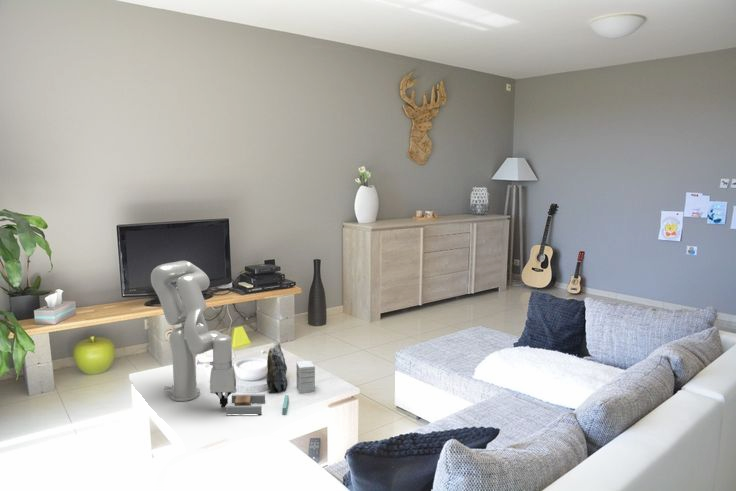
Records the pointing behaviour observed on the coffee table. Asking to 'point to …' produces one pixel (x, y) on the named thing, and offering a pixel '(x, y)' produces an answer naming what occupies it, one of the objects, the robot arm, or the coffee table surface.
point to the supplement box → (305, 377)
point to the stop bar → (285, 405)
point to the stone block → (276, 369)
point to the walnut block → (242, 401)
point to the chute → (247, 409)
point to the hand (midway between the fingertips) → (223, 405)
